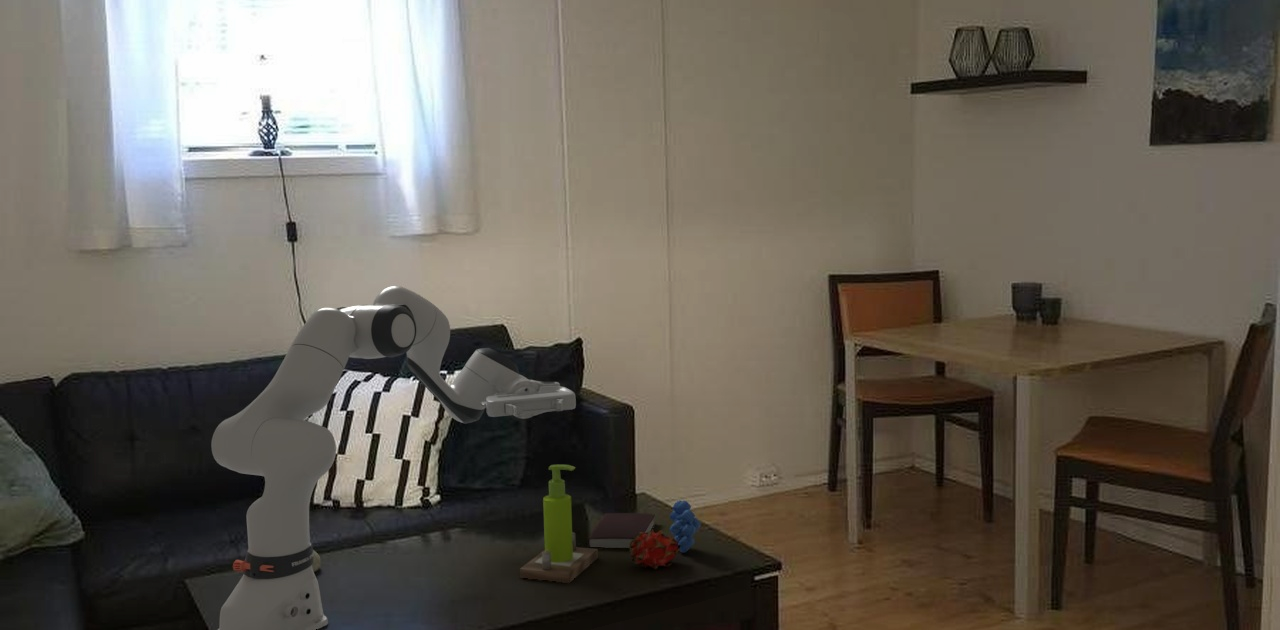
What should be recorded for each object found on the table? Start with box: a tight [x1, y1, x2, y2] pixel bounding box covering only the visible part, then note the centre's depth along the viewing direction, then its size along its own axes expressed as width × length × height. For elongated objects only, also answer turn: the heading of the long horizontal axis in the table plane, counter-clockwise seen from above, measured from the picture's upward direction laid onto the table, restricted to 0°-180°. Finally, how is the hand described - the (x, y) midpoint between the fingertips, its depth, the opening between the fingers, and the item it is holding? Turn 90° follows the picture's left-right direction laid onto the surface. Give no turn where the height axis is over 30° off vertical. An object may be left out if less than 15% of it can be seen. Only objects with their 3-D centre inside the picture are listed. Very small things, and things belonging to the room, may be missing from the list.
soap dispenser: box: [542, 464, 577, 562], centre depth 237 cm, size 6×7×20 cm
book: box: [587, 512, 656, 548], centre depth 259 cm, size 12×19×3 cm, turn 170°
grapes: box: [669, 500, 702, 554], centre depth 246 cm, size 12×7×12 cm, turn 17°
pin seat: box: [519, 531, 599, 584], centre depth 238 cm, size 16×11×6 cm
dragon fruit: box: [627, 529, 681, 570], centre depth 238 cm, size 8×8×12 cm
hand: (539, 409), depth 246 cm, fingers open, 8 cm apart
